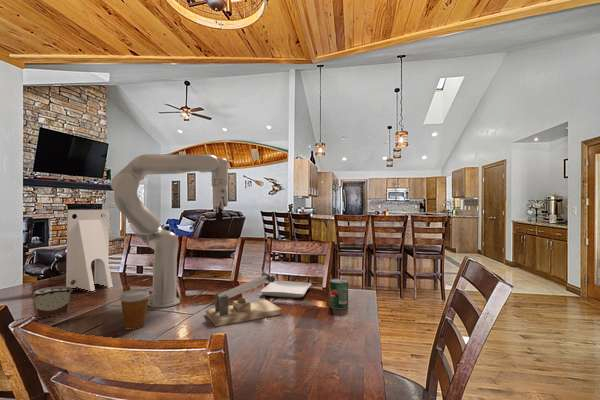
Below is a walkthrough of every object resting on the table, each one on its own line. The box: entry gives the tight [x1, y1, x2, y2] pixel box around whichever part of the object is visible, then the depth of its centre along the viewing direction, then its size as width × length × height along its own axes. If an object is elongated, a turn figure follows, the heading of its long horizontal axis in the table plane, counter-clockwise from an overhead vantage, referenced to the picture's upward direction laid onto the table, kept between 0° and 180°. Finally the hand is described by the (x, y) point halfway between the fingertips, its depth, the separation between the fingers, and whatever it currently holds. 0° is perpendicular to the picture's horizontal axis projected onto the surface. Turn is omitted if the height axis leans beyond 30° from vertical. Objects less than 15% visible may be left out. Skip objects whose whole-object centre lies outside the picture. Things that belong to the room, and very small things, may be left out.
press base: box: [205, 291, 283, 327], centre depth 127 cm, size 26×14×9 cm, turn 121°
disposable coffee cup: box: [119, 288, 151, 330], centre depth 114 cm, size 10×10×12 cm
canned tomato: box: [329, 278, 349, 310], centre depth 139 cm, size 8×8×11 cm
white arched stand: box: [65, 209, 114, 292], centre depth 167 cm, size 20×14×40 cm
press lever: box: [218, 272, 276, 300], centre depth 128 cm, size 23×8×2 cm, turn 121°
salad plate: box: [260, 280, 312, 299], centre depth 160 cm, size 21×21×3 cm
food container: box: [32, 285, 73, 319], centre depth 126 cm, size 12×6×10 cm, turn 134°
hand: (219, 221), depth 158 cm, fingers closed
